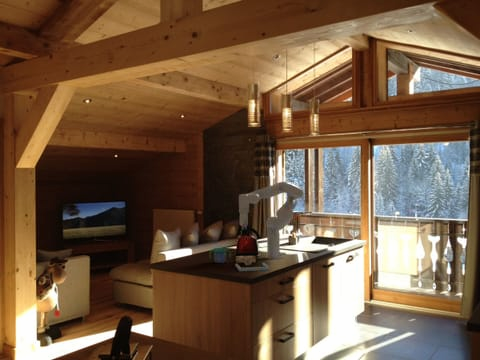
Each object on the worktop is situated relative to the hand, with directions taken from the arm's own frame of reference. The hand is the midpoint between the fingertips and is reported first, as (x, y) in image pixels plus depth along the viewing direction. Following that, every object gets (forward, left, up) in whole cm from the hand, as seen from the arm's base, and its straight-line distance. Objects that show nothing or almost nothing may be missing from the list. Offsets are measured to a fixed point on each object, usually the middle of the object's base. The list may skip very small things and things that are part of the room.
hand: (244, 234), depth 349 cm
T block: (0, +12, -19) cm, 23 cm away
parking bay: (0, +31, -19) cm, 36 cm away
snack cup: (+19, +6, -19) cm, 28 cm away
